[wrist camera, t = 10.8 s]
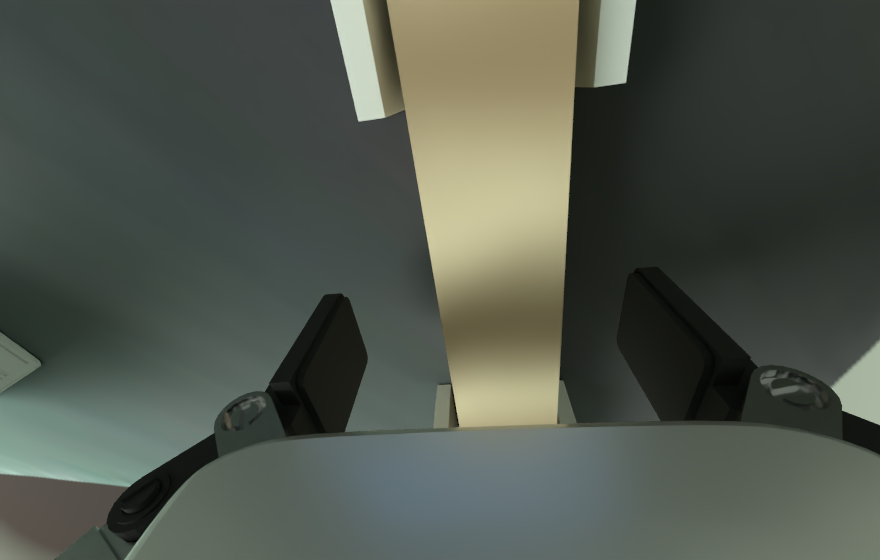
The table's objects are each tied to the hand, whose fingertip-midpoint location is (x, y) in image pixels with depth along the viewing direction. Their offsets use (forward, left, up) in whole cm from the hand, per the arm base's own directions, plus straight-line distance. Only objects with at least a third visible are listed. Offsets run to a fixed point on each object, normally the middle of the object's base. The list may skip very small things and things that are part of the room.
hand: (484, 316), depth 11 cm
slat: (0, +1, -3) cm, 3 cm away
